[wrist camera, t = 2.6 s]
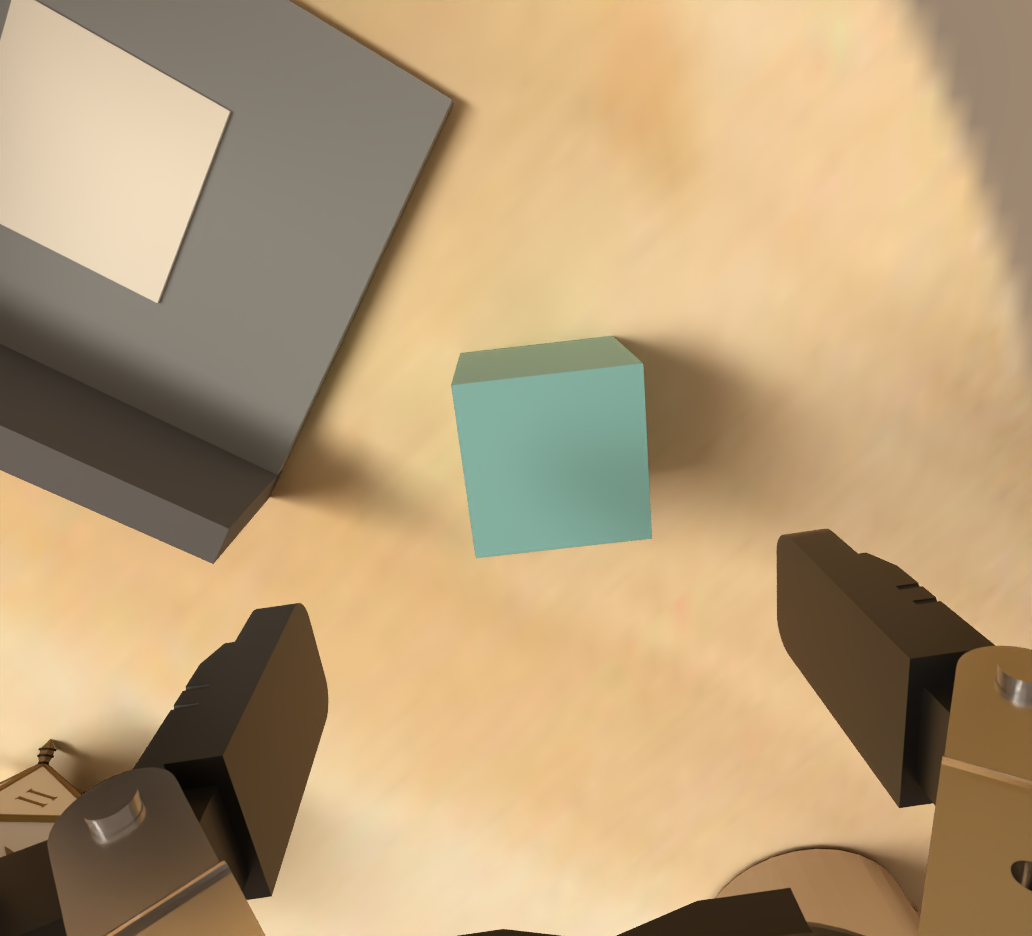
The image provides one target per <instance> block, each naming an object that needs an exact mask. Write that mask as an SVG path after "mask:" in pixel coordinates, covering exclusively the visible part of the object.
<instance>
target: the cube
mask: <svg viewBox="0 0 1032 936" xmlns="http://www.w3.org/2000/svg"><path fill="white" fill-rule="evenodd" d="M451 387H452V394H453V401H454V408H455V415H456V422H457V429H458V436H459V443H460V450H461V457H462V464H463V471H464V479H465V486H466V493H467V500H468V507H469V514H470V521H471V528H472V535H473V542H474V549H475V556H476V558H482V557H491V556H500V555H508V554H517V553H526V552H535V551H544V550H553V549H562V548H571V547H580V546H589V545H598V544H607V543H616V542H625V541H634V540H643V539H652V531H651V511H650V490H649V470H648V449H647V429H646V408H645V387H644V367H643V363H642V362H641V361H640V360H639V359H638V358H637V357H636V356H635V355H633V354H632V353H631V352H630V351H629V350H628V349H627V348H626V347H625V346H623V345H622V344H621V343H620V342H619V341H618V340H617V339H616V338H614V337H613V336H607V337H598V338H589V339H580V340H572V341H563V342H554V343H545V344H537V345H528V346H519V347H510V348H502V349H493V350H484V351H476V352H467V353H460V356H459V360H458V363H457V367H456V370H455V374H454V377H453V381H452V384H451Z"/></svg>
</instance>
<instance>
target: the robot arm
mask: <svg viewBox="0 0 1032 936" xmlns="http://www.w3.org/2000/svg"><path fill="white" fill-rule="evenodd" d="M777 621H778V627H779V632H780V636H781V639H782V642H783V645H784V647H785V649H786V651H787V653H788V654H789V656H790V657H791V659H792V660H793V661H794V663H795V664H796V666H797V667H798V668H799V670H800V671H801V673H802V674H803V675H804V677H805V678H806V679H807V681H808V682H809V684H810V685H811V686H812V688H813V689H814V691H815V692H816V693H817V695H818V696H819V697H820V699H821V700H822V702H823V703H824V704H825V706H826V707H827V709H828V710H829V711H830V713H831V714H832V716H833V717H834V718H835V720H836V721H837V722H838V724H839V725H840V727H841V728H842V729H843V731H844V732H845V734H846V735H847V736H848V738H849V739H850V740H851V742H852V743H853V745H854V746H855V747H856V749H857V750H858V752H859V753H860V754H861V756H862V757H863V758H864V760H865V761H866V763H867V764H868V765H869V767H870V768H871V770H872V771H873V772H874V774H875V775H876V777H877V778H878V779H879V781H880V782H881V783H882V785H883V786H884V788H885V789H886V790H887V792H888V793H889V795H890V796H891V797H892V799H893V800H894V801H895V803H896V804H897V806H898V807H899V808H903V807H910V806H917V805H924V804H931V803H934V805H935V813H934V820H933V827H932V834H931V842H930V849H929V856H928V863H927V870H926V877H925V885H924V892H923V899H922V906H921V913H920V912H917V911H915V910H914V909H913V907H912V906H911V904H910V902H909V901H908V899H907V898H906V896H905V894H904V893H903V891H902V890H901V888H900V886H899V885H898V884H897V882H896V881H895V880H894V878H893V877H892V876H891V874H890V873H889V872H888V871H886V870H885V869H884V868H883V867H881V866H880V865H879V864H877V863H876V862H874V861H872V860H870V859H867V858H865V857H863V856H861V855H859V854H854V853H850V852H846V851H841V850H831V849H811V850H802V851H794V852H790V853H787V854H783V855H780V856H776V857H772V858H770V859H768V860H766V861H764V862H761V863H759V864H757V865H755V866H753V867H751V868H749V869H748V870H746V871H745V872H743V873H742V874H740V875H739V876H737V877H736V878H734V879H733V880H732V881H731V882H730V883H729V884H728V885H727V886H726V887H725V888H724V889H723V890H722V891H721V892H720V893H719V895H718V896H717V897H716V898H715V899H708V900H701V901H696V902H694V903H691V904H689V905H687V906H684V907H682V908H680V909H677V910H675V911H673V912H670V913H668V914H666V915H663V916H661V917H659V918H656V919H654V920H652V921H649V922H647V923H645V924H642V925H640V926H638V927H636V928H633V929H631V930H629V931H626V932H624V933H622V934H619V935H617V936H1032V650H1030V649H1026V648H1020V647H1013V646H995V645H994V644H993V643H991V642H990V641H989V640H988V639H986V638H985V637H984V636H983V635H982V634H980V633H979V632H978V631H977V630H975V629H974V628H973V627H972V626H971V625H969V624H968V623H967V622H966V621H964V620H963V619H962V618H961V617H959V616H958V615H957V614H956V613H955V612H953V611H952V610H951V609H950V608H948V607H947V606H946V605H945V604H943V603H942V602H941V601H938V602H937V600H936V597H935V596H934V595H932V594H931V593H930V592H929V591H928V590H926V589H925V588H924V587H923V586H922V587H919V585H918V582H916V581H915V580H914V579H913V578H912V577H910V576H909V575H908V574H907V573H905V572H904V571H903V570H902V569H900V568H899V567H898V566H897V565H894V564H892V563H889V562H887V561H885V560H882V559H880V558H878V557H875V556H873V555H871V554H868V553H861V554H858V553H857V552H855V551H854V550H853V549H852V548H851V547H850V546H848V545H847V544H846V543H845V542H844V541H843V540H841V539H840V538H839V537H838V536H837V535H836V534H835V533H833V532H832V531H831V530H829V529H821V530H814V531H807V532H800V533H793V534H786V535H782V536H781V537H780V538H779V540H778V543H777ZM327 713H328V689H327V682H326V678H325V674H324V671H323V667H322V663H321V660H320V656H319V652H318V649H317V645H316V641H315V637H314V634H313V630H312V626H311V623H310V619H309V616H308V613H307V610H306V608H305V607H304V606H303V605H302V604H301V603H296V604H289V605H282V606H275V607H269V608H262V609H256V610H254V611H253V612H252V614H251V615H250V617H249V619H248V620H247V622H246V624H245V626H244V627H243V629H242V631H241V632H240V634H239V636H238V637H237V639H236V641H235V642H232V643H225V644H223V645H222V646H221V647H220V648H219V649H218V650H216V651H215V652H214V653H213V654H212V655H210V656H209V657H208V658H207V659H206V660H205V661H203V662H202V663H201V664H200V665H199V667H198V668H197V670H196V671H195V673H194V674H193V676H192V678H191V679H190V681H189V682H188V684H187V685H186V691H183V692H182V693H181V695H180V696H179V698H178V700H177V701H176V703H175V704H174V710H171V711H170V712H169V714H168V715H167V717H166V718H165V720H164V722H163V723H162V725H161V726H160V728H159V729H158V731H157V733H156V734H155V736H154V737H153V739H152V740H151V742H150V744H149V745H148V747H147V748H146V750H145V751H144V753H143V755H142V756H141V758H140V759H139V761H138V762H137V764H136V766H135V767H134V769H133V770H131V771H127V772H124V773H121V774H118V775H116V776H113V777H111V778H109V779H107V780H105V781H103V782H101V783H99V784H98V785H96V786H94V787H93V788H91V789H90V790H88V791H87V792H85V793H84V794H82V795H81V796H80V797H79V798H77V799H76V800H75V801H74V802H73V803H72V804H71V805H70V806H68V807H67V808H66V809H65V811H64V812H63V813H62V814H61V815H60V816H59V818H58V819H57V820H56V822H55V823H54V825H53V827H52V829H51V831H50V833H49V837H48V840H46V841H43V842H40V843H38V844H35V845H32V846H30V847H27V848H24V849H22V850H19V851H16V852H14V853H11V854H8V855H6V856H3V857H0V936H265V934H264V932H263V930H262V928H261V926H260V925H259V923H258V921H257V919H256V917H255V915H254V913H253V911H252V910H251V908H250V906H249V904H248V902H247V900H249V899H256V898H263V897H270V896H272V893H273V890H274V887H275V884H276V880H277V877H278V874H279V871H280V868H281V864H282V861H283V858H284V855H285V851H286V848H287V845H288V842H289V838H290V835H291V832H292V829H293V826H294V822H295V819H296V816H297V813H298V809H299V806H300V803H301V800H302V796H303V793H304V790H305V787H306V784H307V780H308V777H309V774H310V771H311V767H312V764H313V761H314V758H315V754H316V751H317V748H318V745H319V742H320V738H321V735H322V732H323V729H324V725H325V722H326V718H327ZM459 936H559V935H550V934H541V933H533V932H524V931H515V930H507V929H501V930H494V931H487V932H480V933H473V934H466V935H459Z"/></svg>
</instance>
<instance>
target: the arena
mask: <svg viewBox="0 0 1032 936" xmlns="http://www.w3.org/2000/svg"><path fill="white" fill-rule="evenodd" d="M452 105H453V100H452V99H450V98H449V97H447V96H446V95H444V94H442V93H441V92H439V91H437V90H436V89H434V88H432V87H431V86H429V85H427V84H426V83H424V82H423V81H421V80H419V79H418V78H416V77H414V76H413V75H411V74H409V73H408V72H406V71H405V70H403V69H401V68H400V67H398V66H396V65H395V64H393V63H391V62H390V61H388V60H386V59H385V58H383V57H382V56H380V55H378V54H377V53H375V52H373V51H372V50H370V49H368V48H367V47H365V46H363V45H362V44H360V43H359V42H357V41H355V40H354V39H352V38H350V37H349V36H347V35H345V34H344V33H342V32H341V31H339V30H337V29H336V28H334V27H332V26H331V25H329V24H327V23H326V22H324V21H322V20H321V19H319V18H318V17H316V16H314V15H313V14H311V13H309V12H308V11H306V10H304V9H303V8H301V7H299V6H298V5H296V4H295V3H293V2H291V1H290V0H0V470H2V471H4V472H6V473H8V474H11V475H13V476H15V477H17V478H20V479H22V480H24V481H27V482H29V483H31V484H33V485H36V486H38V487H40V488H42V489H45V490H47V491H49V492H51V493H54V494H56V495H58V496H61V497H63V498H65V499H67V500H70V501H72V502H74V503H76V504H79V505H81V506H83V507H85V508H88V509H90V510H92V511H95V512H97V513H99V514H101V515H104V516H106V517H108V518H110V519H113V520H115V521H117V522H119V523H122V524H124V525H126V526H129V527H131V528H133V529H135V530H138V531H140V532H142V533H144V534H147V535H149V536H151V537H153V538H156V539H158V540H160V541H163V542H165V543H167V544H169V545H172V546H174V547H176V548H178V549H181V550H183V551H185V552H187V553H190V554H192V555H194V556H197V557H199V558H201V559H203V560H206V561H208V562H210V563H212V564H214V562H215V561H216V560H217V559H218V558H219V557H220V555H221V554H222V553H223V552H224V551H225V549H226V548H227V547H228V546H229V545H230V544H231V542H232V541H233V540H234V539H235V538H236V536H237V535H238V534H239V533H240V532H241V530H242V529H243V528H244V527H245V526H246V525H247V523H248V522H249V521H250V520H251V519H252V517H253V516H254V515H255V514H256V513H257V512H258V510H259V509H260V508H261V507H262V506H263V504H264V503H265V502H266V501H267V500H268V499H269V497H270V495H271V493H272V490H273V488H274V486H275V484H276V482H277V480H278V478H279V476H280V473H281V471H282V469H283V467H284V465H285V463H286V461H287V458H288V456H289V454H290V452H291V450H292V448H293V446H294V443H295V441H296V439H297V437H298V435H299V433H300V431H301V428H302V426H303V424H304V422H305V420H306V418H307V416H308V413H309V411H310V409H311V407H312V405H313V403H314V401H315V398H316V396H317V394H318V392H319V390H320V388H321V386H322V383H323V381H324V379H325V377H326V375H327V373H328V371H329V368H330V366H331V364H332V362H333V360H334V358H335V356H336V354H337V351H338V349H339V347H340V345H341V343H342V341H343V339H344V336H345V334H346V332H347V330H348V328H349V326H350V324H351V321H352V319H353V317H354V315H355V313H356V311H357V309H358V306H359V304H360V302H361V300H362V298H363V296H364V294H365V291H366V289H367V287H368V285H369V283H370V281H371V279H372V276H373V274H374V272H375V270H376V268H377V266H378V264H379V261H380V259H381V257H382V255H383V253H384V251H385V249H386V246H387V244H388V242H389V240H390V238H391V236H392V234H393V232H394V229H395V227H396V225H397V223H398V221H399V219H400V217H401V214H402V212H403V210H404V208H405V206H406V204H407V202H408V199H409V197H410V195H411V193H412V191H413V189H414V187H415V184H416V182H417V180H418V178H419V176H420V174H421V172H422V169H423V167H424V165H425V163H426V161H427V159H428V157H429V154H430V152H431V150H432V148H433V146H434V144H435V142H436V139H437V137H438V135H439V133H440V131H441V129H442V127H443V125H444V122H445V120H446V118H447V116H448V114H449V112H450V110H451V107H452Z"/></svg>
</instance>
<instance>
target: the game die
mask: <svg viewBox="0 0 1032 936" xmlns="http://www.w3.org/2000/svg"><path fill="white" fill-rule="evenodd" d="M39 750H40V753H39V755H38V756H37V757H39V762H38V764H37V765H35V766H33V767H31V768H29V769H27V770H25V771H23V772H21V773H19V774H17V775H15V776H12V777H10V778H8V779H6V780H4V781H2V782H0V857H3V856H6V855H8V854H11V853H14V852H16V851H19V850H22V849H24V848H27V847H30V846H32V845H35V844H38V843H40V842H43V841H46V840H48V837H49V833H50V831H51V829H52V827H53V825H54V823H55V822H56V820H57V819H58V818H59V816H60V815H61V814H62V813H63V812H64V811H65V809H66V808H67V807H68V806H70V805H71V804H72V803H73V802H74V801H75V800H76V799H77V798H79V797H80V796H81V795H82V794H81V793H80V792H79V791H78V790H76V789H75V788H74V787H73V786H72V785H71V784H70V783H69V782H68V781H66V780H65V779H64V778H63V777H62V776H61V775H60V774H59V773H57V772H56V771H55V770H54V769H53V768H52V767H51V766H50V765H49V761H50V760H51V758H53V757H54V756H53V754H54V751H56V749H55V748H54V746H53V743H52V741H51V739H50V740H49V741H48V742H47V743H46V744H45V745H44V746H43V747H42V748H39Z"/></svg>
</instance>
